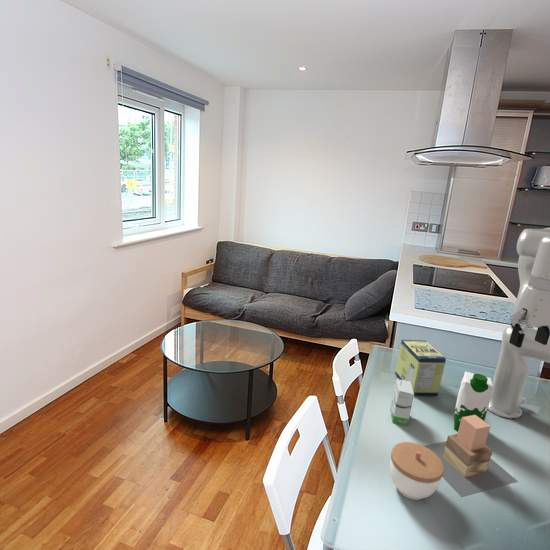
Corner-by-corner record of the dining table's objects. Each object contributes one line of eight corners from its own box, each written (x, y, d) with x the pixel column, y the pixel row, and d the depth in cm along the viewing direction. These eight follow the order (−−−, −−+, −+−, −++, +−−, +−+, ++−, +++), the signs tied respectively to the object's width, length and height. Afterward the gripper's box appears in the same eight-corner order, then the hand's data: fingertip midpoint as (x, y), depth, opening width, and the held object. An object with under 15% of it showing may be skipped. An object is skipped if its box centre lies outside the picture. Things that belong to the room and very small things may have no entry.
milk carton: (450, 431, 123) (465, 376, 117) (451, 416, 131) (464, 363, 125) (481, 441, 119) (497, 384, 114) (479, 425, 127) (494, 371, 122)
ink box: (407, 426, 123) (414, 394, 120) (392, 423, 124) (398, 391, 120) (404, 411, 131) (411, 380, 128) (389, 408, 132) (396, 377, 129)
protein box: (417, 374, 157) (425, 339, 153) (438, 396, 142) (447, 358, 138) (394, 374, 155) (401, 339, 151) (412, 396, 140) (420, 358, 136)
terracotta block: (469, 435, 110) (475, 414, 108) (484, 447, 105) (490, 426, 103) (456, 438, 108) (461, 417, 106) (470, 450, 103) (476, 428, 101)
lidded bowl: (431, 518, 90) (441, 480, 87) (379, 492, 96) (386, 455, 93) (440, 484, 101) (449, 449, 98) (392, 462, 107) (400, 429, 104)
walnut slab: (466, 441, 112) (469, 431, 111) (489, 461, 105) (492, 450, 104) (445, 446, 110) (447, 435, 109) (467, 466, 102) (470, 455, 101)
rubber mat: (465, 438, 120) (466, 437, 120) (517, 482, 104) (518, 481, 104) (414, 448, 113) (414, 447, 113) (461, 498, 97) (461, 496, 97)
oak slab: (463, 451, 113) (466, 441, 112) (486, 471, 106) (489, 461, 105) (442, 456, 111) (445, 446, 110) (464, 477, 103) (467, 466, 102)
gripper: (554, 279, 106) (536, 336, 110) (508, 280, 100) (492, 340, 104) (582, 288, 99) (563, 348, 104) (536, 289, 93) (517, 353, 98)
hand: (527, 343), depth 104 cm, fingers open, 9 cm apart
